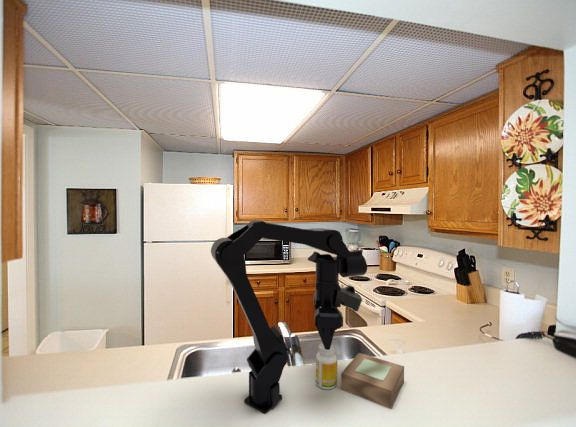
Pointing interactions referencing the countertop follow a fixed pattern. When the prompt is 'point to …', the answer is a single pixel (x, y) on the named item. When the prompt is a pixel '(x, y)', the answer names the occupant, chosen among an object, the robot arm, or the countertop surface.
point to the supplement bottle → (326, 367)
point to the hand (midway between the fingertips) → (326, 340)
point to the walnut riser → (373, 379)
